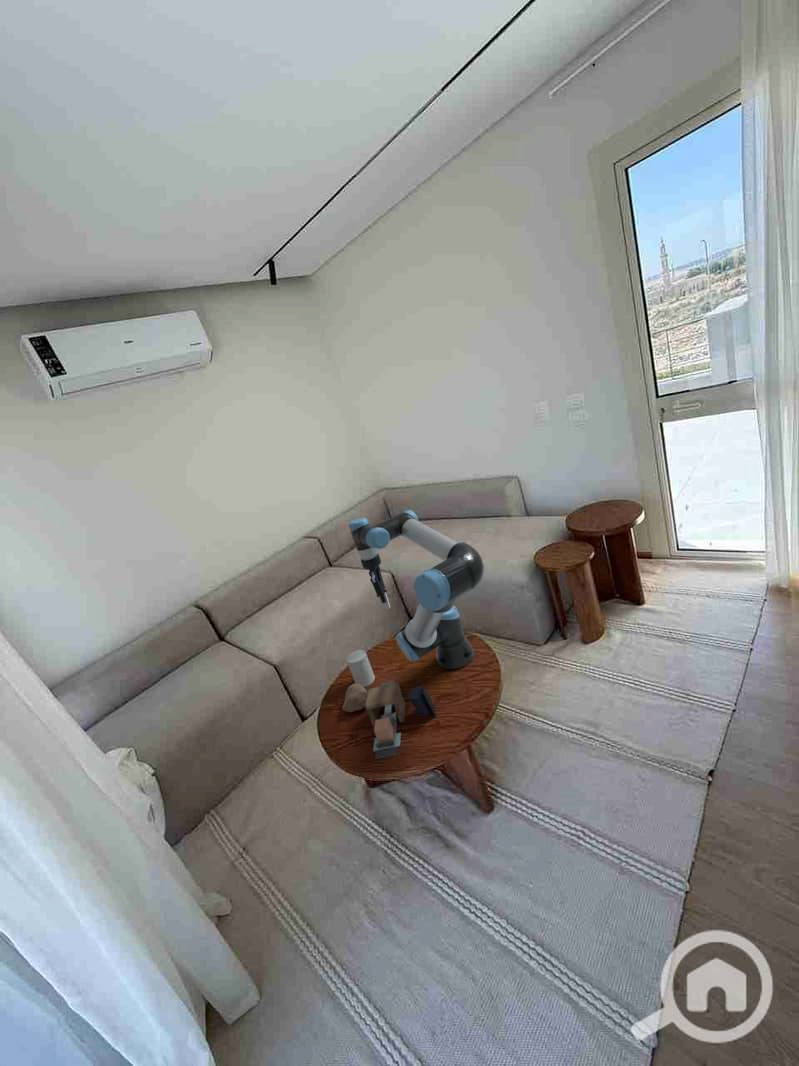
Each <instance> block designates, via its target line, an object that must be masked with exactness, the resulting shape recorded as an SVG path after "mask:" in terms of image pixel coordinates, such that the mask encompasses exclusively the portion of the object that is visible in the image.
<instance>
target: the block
mask: <svg viewBox="0 0 799 1066" xmlns="http://www.w3.org/2000/svg"><path fill="white" fill-rule="evenodd" d="M373 732H374V734H375V736H376V737H377V740H378V742H379V741H384V740H389V739H392V738H393V727H392V724H391V722H390V719H389V717H387V718H383V719H380V718H379V719H378V720H376V721H375V728H374V729H373ZM376 737H375V738H376Z"/></svg>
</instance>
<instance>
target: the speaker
mask: <svg viewBox="0 0 799 1066" xmlns="http://www.w3.org/2000/svg"><path fill="white" fill-rule="evenodd" d="M408 698H409V700H410V702H411V704H412V705H413V707H414V709H415V711H416V712H417V714H418V716H419V717H427V716H428V715H429V714H430V713H431V712H432V714H433V716H434V717H437V713H436V712H437V711H436V706H435V704H434V703H433V700H432V699H431V697H430V695H429V693H428V690H427V689H426V688H425V686H424V684H423V683H421V686H416V687H414V688H412V689H411V690H410V691H409V693H408Z"/></svg>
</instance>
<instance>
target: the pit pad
mask: <svg viewBox="0 0 799 1066" xmlns="http://www.w3.org/2000/svg"><path fill="white" fill-rule="evenodd" d="M396 755H398V747H393V748H388V749H383V750H378V751H375V758H374V760H375V759H377V760H382V759H381V758H383V759H387V758H386V757H388V758H392V757H391V756H393V757H396Z"/></svg>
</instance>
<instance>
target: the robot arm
mask: <svg viewBox="0 0 799 1066" xmlns="http://www.w3.org/2000/svg"><path fill="white" fill-rule="evenodd" d="M348 528H349V532H350V534H351V537H352V540H353V543H354V546H355V548H356V554H358V556H359V558H360V563H361V565H362V567H363V569H365V570H369V571H368V575H369V577H370V579H369V581H370V583H371V584H372V586H373V588H374V592H375V594H376V597H377V598H379V601H380V603H381V605H382V609H383V610H388V609H391V605H390V601H389V598H388V595H387V592H388V590H387V589H386V585H385V583H384V580H383V579H384V578H383V576H382V572H381V566H380V565H381V563H382V560H381V558H380V554H379V550H381V549H384V548H386V547H387V546H388V544H389V543H390V541H392V540H395V539H397V538H398V537H401V536H402V537H404V538H406V539H407V540H408V541H411V542H412V543H414V544H416V545H417V546H419V547H420V548H422V549H423V550H425V551H427V552H428V553H430V554H432V555H433V556H435V557H436V558H439V559H440V560H442V561H441V562H440V563H438V564H436V565H435V566H433V567H430V568H429V569H426V570H424V571H422V572H421V573H420V574H418V575H417V576H416V578H415V579H414V582H413V590H414V591H415V592H414V596H415V598H416V600H417V602H418V603H419V604H418V606H417V609H416V611H415V615H414V617H413V618H412V619H410V620H409V621H408V622H407V623H406V626H405V629H404V630H402V631H400V632H398V634H397V635H396V636H395V640H396V643H397V645H398V647H399V649H400V650H401V652H402V653H403V655H404V656H405V657H406V658H407V659H408V660H409V661H410V662H416V661H417V660H421V658H422V657H424V656H425V655H427V654H428V653H431V651H433V650H434V649H435V648H436V652H435V654H436V655H435V657H436V661H437V664H438V666H439V667H440V668H442V669H445V670H456V669H461V668H463V667H466V666H467V665H468V664H470V663H471V662H472V661H473V659H474V657H475V651H474V648H473V646H472V644H471V643H470V641H469V640H468V639H467V637H466V635H465V632H464V627H463V625H462V621H461V618H460V613H459V611H458V609H457V607H456V605H455V603H456V602H457V600H458V599H459V598H461V597H462V596H463V595H465V594H467V593H468V592H470V591H471V590H473V589H475V588H476V587H477V586H478V585H479V584H480V582H481V581H482V579H483V576H484V574H485V573H484V572H485V567H484V566H485V565H484V562H483V559H482V556H481V555H480V554H479V552H478V551H477V550H476V549H475V548H474V547H473V546H471V545H470V544H468V543H466V542H464V541H458V542H457V541H455V540H454V539H452V538H450V537H448V536H447V535H445V534H443V533H441V532H439V531H438V530H435V529H434V528H432V527H429V526H428V525H425V524H424V523H422V522H421V521H419V517H418V516H417V514H416V513H415V512H414V511H413V510H411V509H410V510H409V509H408V510H406V511H402V512H399V513H398V514H397V515H395V516H392V517H390V518H388V519H386V520H384V521H382V522H379V523H377V524H375V525H370V523H369V521H368V519H367V517H358V518H356V519H353V520H351V521H350V522H349V523H348ZM378 549H379V550H378Z"/></svg>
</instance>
